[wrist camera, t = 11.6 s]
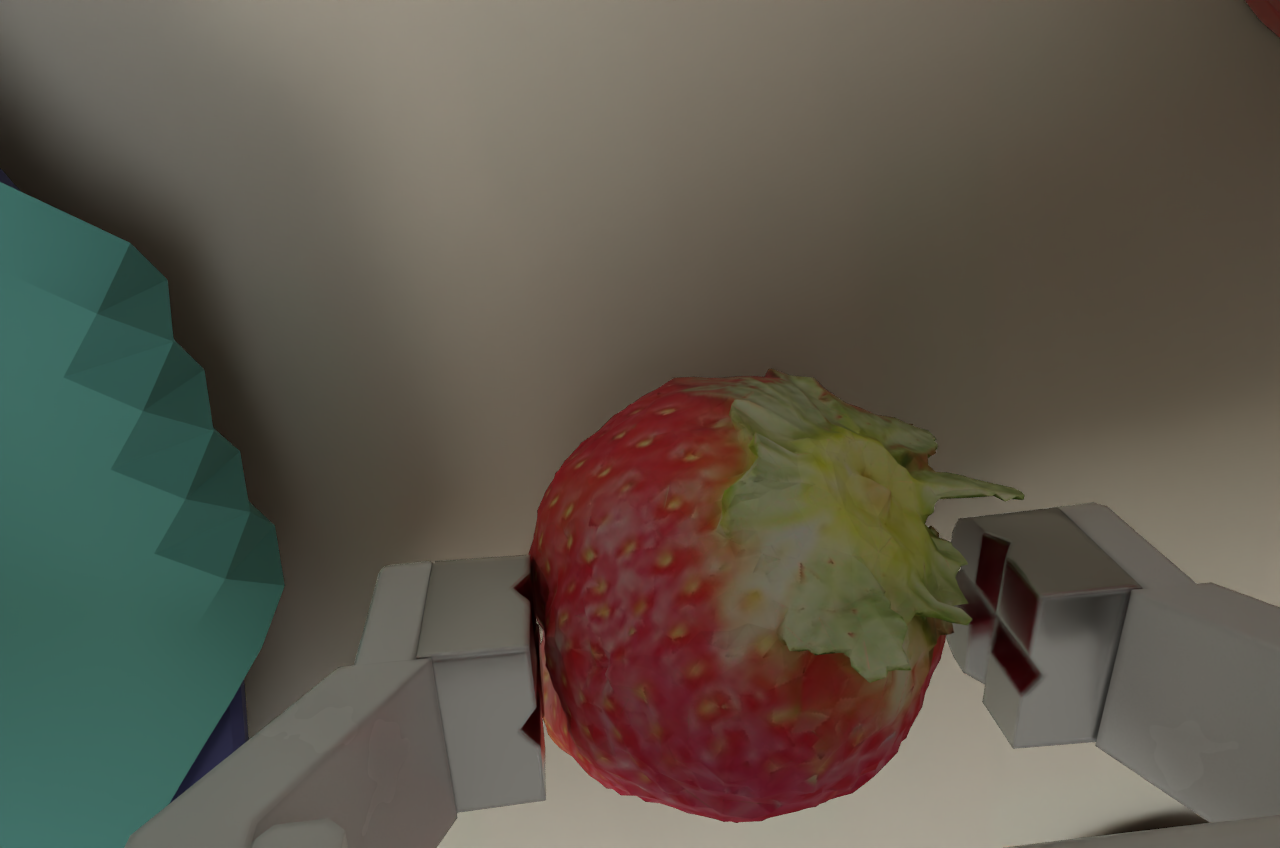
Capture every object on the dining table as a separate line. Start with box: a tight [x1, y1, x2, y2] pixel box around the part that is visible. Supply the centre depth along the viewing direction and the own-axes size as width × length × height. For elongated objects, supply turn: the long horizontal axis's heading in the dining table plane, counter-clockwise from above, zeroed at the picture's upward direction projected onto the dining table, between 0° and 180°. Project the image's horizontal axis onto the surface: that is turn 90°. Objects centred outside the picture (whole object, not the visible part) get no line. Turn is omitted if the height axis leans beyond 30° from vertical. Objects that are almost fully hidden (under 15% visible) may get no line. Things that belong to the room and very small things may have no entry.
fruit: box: [528, 369, 1024, 823], centre depth 9 cm, size 4×6×5 cm
